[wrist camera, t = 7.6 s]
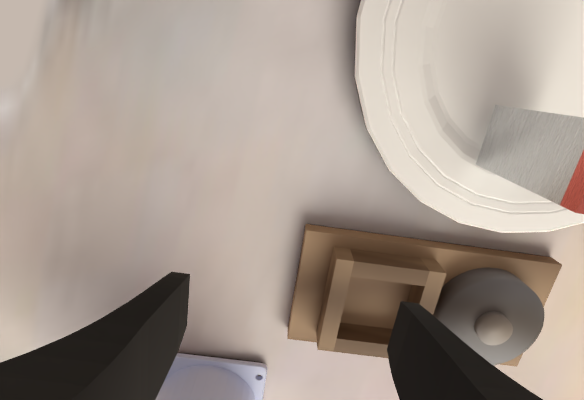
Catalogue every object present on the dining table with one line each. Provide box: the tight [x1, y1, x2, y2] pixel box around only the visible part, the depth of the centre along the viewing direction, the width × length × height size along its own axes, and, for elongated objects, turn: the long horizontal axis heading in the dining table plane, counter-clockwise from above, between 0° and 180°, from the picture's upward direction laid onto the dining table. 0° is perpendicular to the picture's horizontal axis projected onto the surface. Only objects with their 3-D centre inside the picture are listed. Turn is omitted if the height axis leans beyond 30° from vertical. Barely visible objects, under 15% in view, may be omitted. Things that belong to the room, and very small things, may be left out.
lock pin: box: [476, 105, 584, 214], centre depth 16 cm, size 3×3×7 cm
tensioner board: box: [288, 224, 562, 366], centre depth 22 cm, size 8×16×3 cm, turn 82°
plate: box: [354, 0, 584, 233], centre depth 18 cm, size 21×21×2 cm
